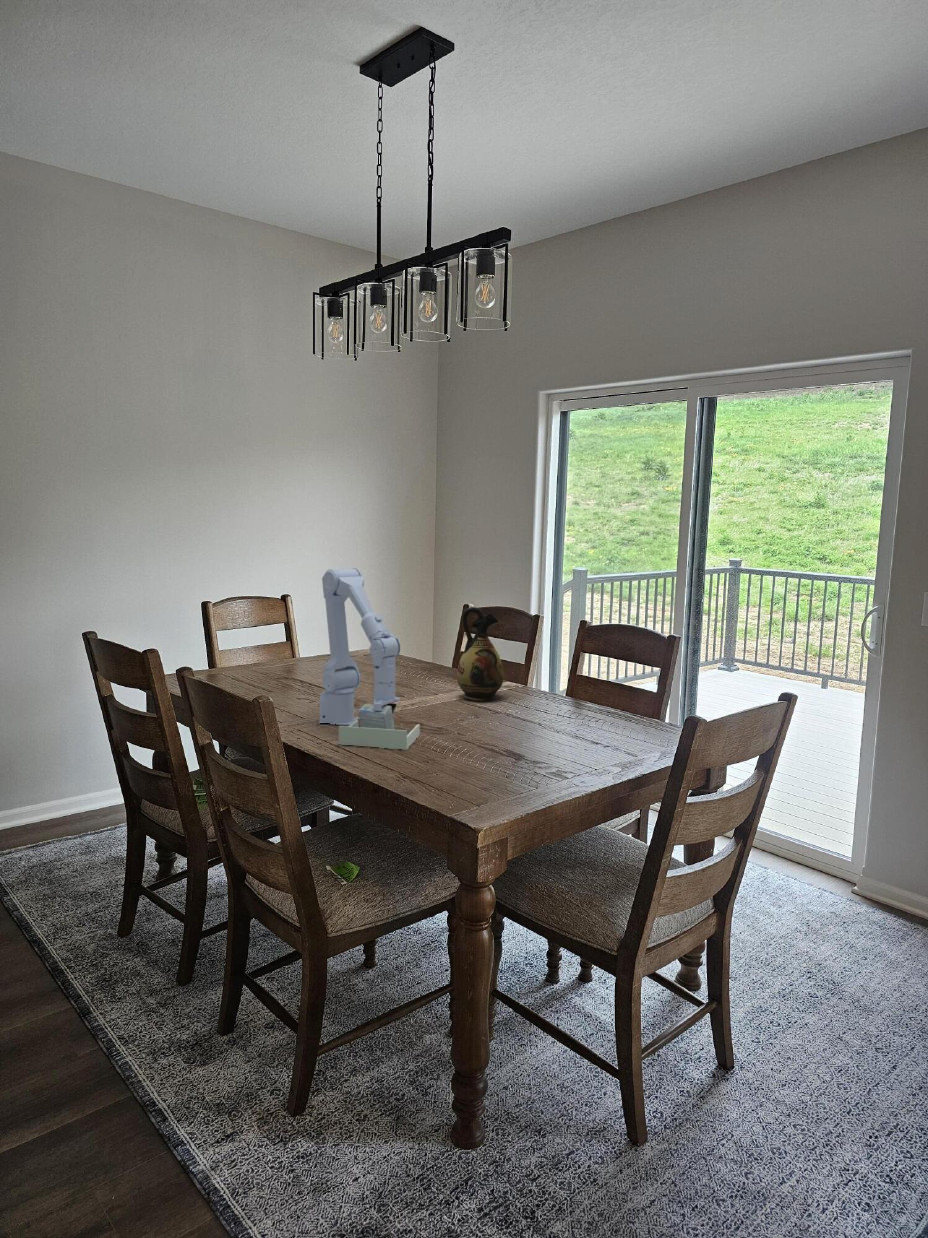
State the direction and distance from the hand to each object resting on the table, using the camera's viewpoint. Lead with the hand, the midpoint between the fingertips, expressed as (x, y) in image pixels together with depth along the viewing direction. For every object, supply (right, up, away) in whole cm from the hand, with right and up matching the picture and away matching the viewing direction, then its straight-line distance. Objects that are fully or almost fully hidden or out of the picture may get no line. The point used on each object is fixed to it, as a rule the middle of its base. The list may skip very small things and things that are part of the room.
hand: (384, 730), depth 220 cm
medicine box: (-1, -1, -2) cm, 3 cm away
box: (-1, -2, -3) cm, 4 cm away
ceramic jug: (+26, +4, +47) cm, 54 cm away
